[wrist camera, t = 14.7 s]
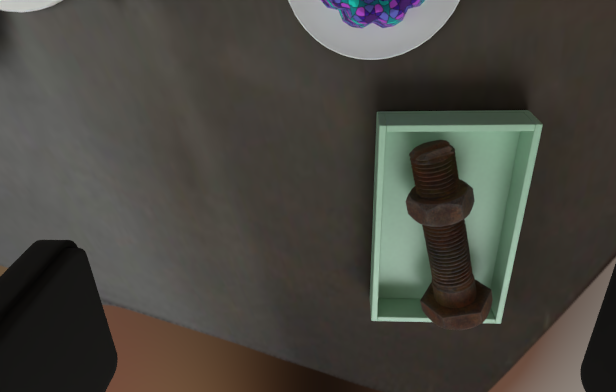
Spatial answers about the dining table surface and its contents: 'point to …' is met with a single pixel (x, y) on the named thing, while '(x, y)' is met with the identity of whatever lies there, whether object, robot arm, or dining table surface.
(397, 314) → the tray
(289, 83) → the dining table surface
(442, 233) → the bolt
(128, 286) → the dining table surface
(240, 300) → the dining table surface
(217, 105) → the dining table surface
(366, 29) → the pudding
